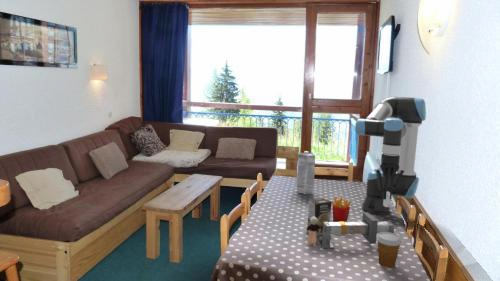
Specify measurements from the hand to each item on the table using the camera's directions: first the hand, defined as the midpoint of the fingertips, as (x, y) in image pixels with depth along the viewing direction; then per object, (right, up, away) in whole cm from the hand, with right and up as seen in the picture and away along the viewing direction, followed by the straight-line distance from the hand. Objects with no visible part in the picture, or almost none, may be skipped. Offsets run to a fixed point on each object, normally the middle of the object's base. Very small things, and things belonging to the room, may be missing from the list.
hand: (385, 206), depth 177 cm
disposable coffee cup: (-5, -21, -16) cm, 27 cm away
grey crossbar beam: (-12, -18, +2) cm, 22 cm away
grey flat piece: (-7, -15, +2) cm, 17 cm away
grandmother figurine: (-32, -17, +1) cm, 37 cm away
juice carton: (-25, -5, +80) cm, 84 cm away
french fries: (-15, -14, +24) cm, 32 cm away
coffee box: (-28, -15, +14) cm, 35 cm away
